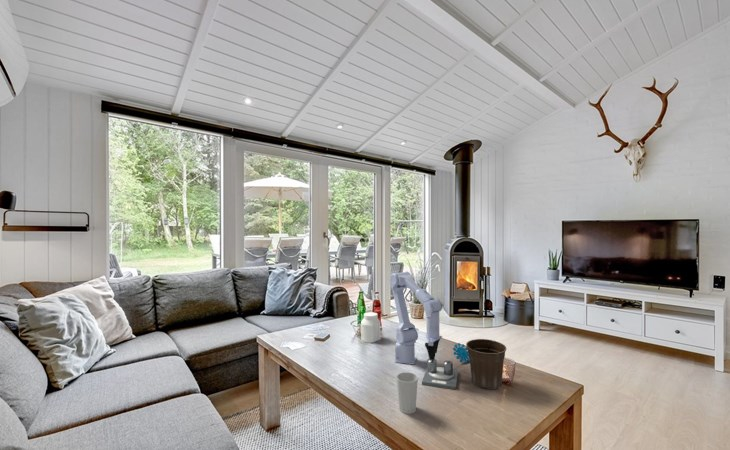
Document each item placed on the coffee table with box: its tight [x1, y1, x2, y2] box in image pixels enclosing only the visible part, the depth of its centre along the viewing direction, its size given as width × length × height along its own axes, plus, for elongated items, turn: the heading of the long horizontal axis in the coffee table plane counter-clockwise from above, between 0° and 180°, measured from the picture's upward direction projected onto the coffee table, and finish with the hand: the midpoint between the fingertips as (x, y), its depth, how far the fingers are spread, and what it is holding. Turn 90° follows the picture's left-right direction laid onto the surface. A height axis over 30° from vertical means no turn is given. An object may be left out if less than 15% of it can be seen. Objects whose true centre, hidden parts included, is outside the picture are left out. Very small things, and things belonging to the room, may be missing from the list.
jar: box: [360, 311, 382, 344], centre depth 197 cm, size 12×10×15 cm
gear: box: [452, 342, 470, 364], centre depth 167 cm, size 11×6×10 cm
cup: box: [396, 371, 419, 415], centre depth 124 cm, size 8×8×12 cm
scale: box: [421, 366, 459, 390], centre depth 147 cm, size 14×16×2 cm
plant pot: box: [465, 338, 507, 390], centre depth 143 cm, size 16×16×16 cm
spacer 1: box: [427, 358, 438, 373], centre depth 150 cm, size 4×4×5 cm
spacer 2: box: [443, 360, 454, 376], centre depth 148 cm, size 4×4×5 cm
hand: (433, 355), depth 151 cm, fingers open, 7 cm apart
